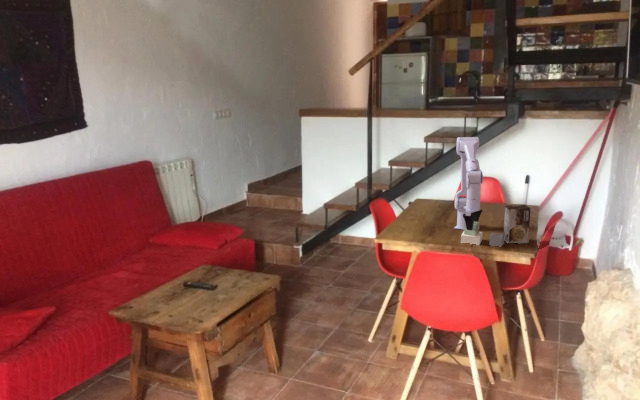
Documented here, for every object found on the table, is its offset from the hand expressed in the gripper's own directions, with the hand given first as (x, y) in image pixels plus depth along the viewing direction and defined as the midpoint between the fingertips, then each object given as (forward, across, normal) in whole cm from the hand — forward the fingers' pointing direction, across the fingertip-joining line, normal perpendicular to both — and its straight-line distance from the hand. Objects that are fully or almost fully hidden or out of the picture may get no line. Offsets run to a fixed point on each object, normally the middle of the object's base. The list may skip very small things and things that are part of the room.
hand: (472, 227), depth 225 cm
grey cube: (+6, 0, +11) cm, 13 cm away
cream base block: (+7, 0, 0) cm, 7 cm away
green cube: (+3, 0, 0) cm, 3 cm away
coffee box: (+7, -9, +17) cm, 20 cm away
